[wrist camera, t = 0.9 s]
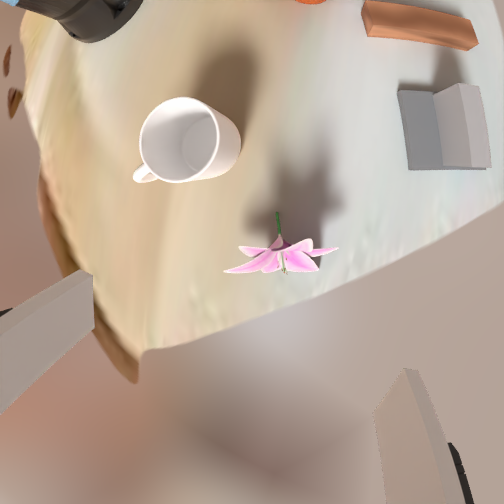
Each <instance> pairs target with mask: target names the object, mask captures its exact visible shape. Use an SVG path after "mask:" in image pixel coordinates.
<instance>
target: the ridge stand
mask: <svg viewBox="0 0 504 504" xmlns="http://www.w3.org/2000/svg"><path fill="white" fill-rule="evenodd" d="M397 96H398V101H399V106H400V111H401V117H402V123H403V129H404V136H405V143H406V151H407V159H408V169H409V170H486V168H492V166H491V155H490V146H489V138H488V131H487V124H486V118H485V113H484V107H483V103H482V98H481V93H480V89H479V86H475V85H469V84H463V83H457V84H455V85H453V86H451V87H448V88H446V89H444V90H442V91H440V92H429V91H414V90H400V91H398V92H397Z"/></svg>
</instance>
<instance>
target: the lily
mask: <svg viewBox="0 0 504 504" xmlns="http://www.w3.org/2000/svg"><path fill="white" fill-rule="evenodd" d="M276 219H277V225H278V238H277V240H276V241H275V242H274V243H273V244H272V245H271V246H270V247H269V248H256V247H246V246H239V249H240V250H241V251H242V252H243V253H244V254H246V255H247V256H250V257H256V258H254V259H253V260H251V261H250V262H248V263H246V264H244V265H241V266H239V267H236V268H233V269H229V270H225V271H223V272H226V273H249V272H255V271H258V270H262V271H263V272H264V273H268V272H273V271H276V270H279V269H281V268H282V271H283V270H284V269H286V270H289V271H294V272H312V271H317V270H319V268H318V267H317V265H316V264H315V263H314V261H313V260H312V259H311V258H310V257H316V256H320V255H324V254H327V253H329V252H332V251H334V250H336V249H338V247H337V248H326V249H313V241H312V239H310V238H309V239H305V240H303V241H301V242H298V243H296V244H294V245H293V244H291V243H289V242H287V241H285V240H284V239H282V237H281V229H280V222H279V216H278V212H276ZM265 250H266V251H265ZM264 251H265V252H264ZM284 273H285V270H284ZM286 273H287V271H286Z"/></svg>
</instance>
